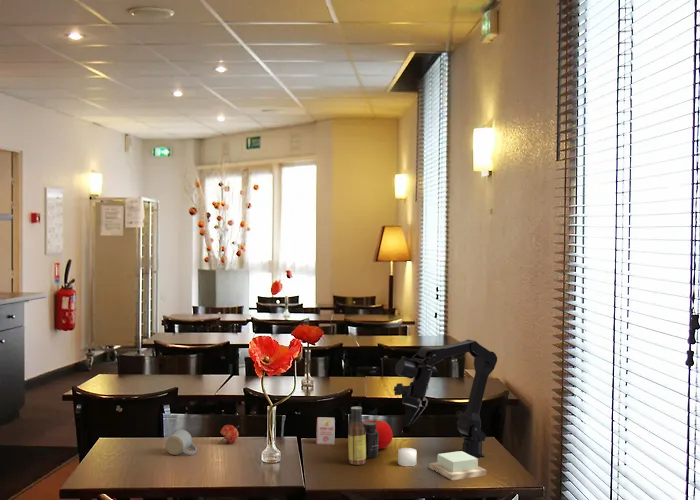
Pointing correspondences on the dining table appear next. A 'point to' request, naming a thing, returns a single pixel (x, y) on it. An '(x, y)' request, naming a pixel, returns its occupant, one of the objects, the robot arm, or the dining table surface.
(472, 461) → the sage top block
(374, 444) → the supplement bottle
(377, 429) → the tomato
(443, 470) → the birch base slab
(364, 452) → the sauce bottle
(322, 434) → the white red carton
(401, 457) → the white cylinder
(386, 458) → the dining table surface
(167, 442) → the ceramic mug
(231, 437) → the red mushroom
